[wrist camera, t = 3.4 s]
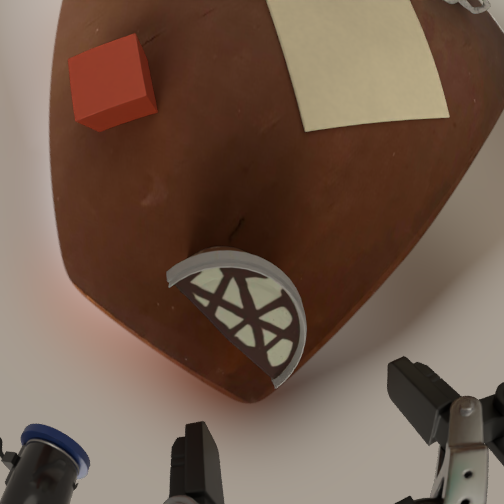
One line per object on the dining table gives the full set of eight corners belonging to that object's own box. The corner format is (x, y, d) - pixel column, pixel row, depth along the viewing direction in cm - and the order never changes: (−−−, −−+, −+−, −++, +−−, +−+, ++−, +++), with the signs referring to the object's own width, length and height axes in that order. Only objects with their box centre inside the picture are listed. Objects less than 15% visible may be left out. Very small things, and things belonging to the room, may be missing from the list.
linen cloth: (304, 132, 28) (305, 131, 27) (260, -15, 23) (261, -16, 23) (447, 117, 29) (449, 117, 29) (405, -4, 25) (407, -6, 25)
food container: (303, 297, 31) (343, 343, 22) (258, 334, 32) (279, 392, 22) (226, 204, 28) (237, 216, 19) (176, 247, 28) (162, 280, 19)
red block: (99, 132, 25) (75, 121, 19) (90, 78, 23) (67, 58, 17) (158, 112, 25) (146, 95, 20) (147, 58, 24) (135, 32, 18)
